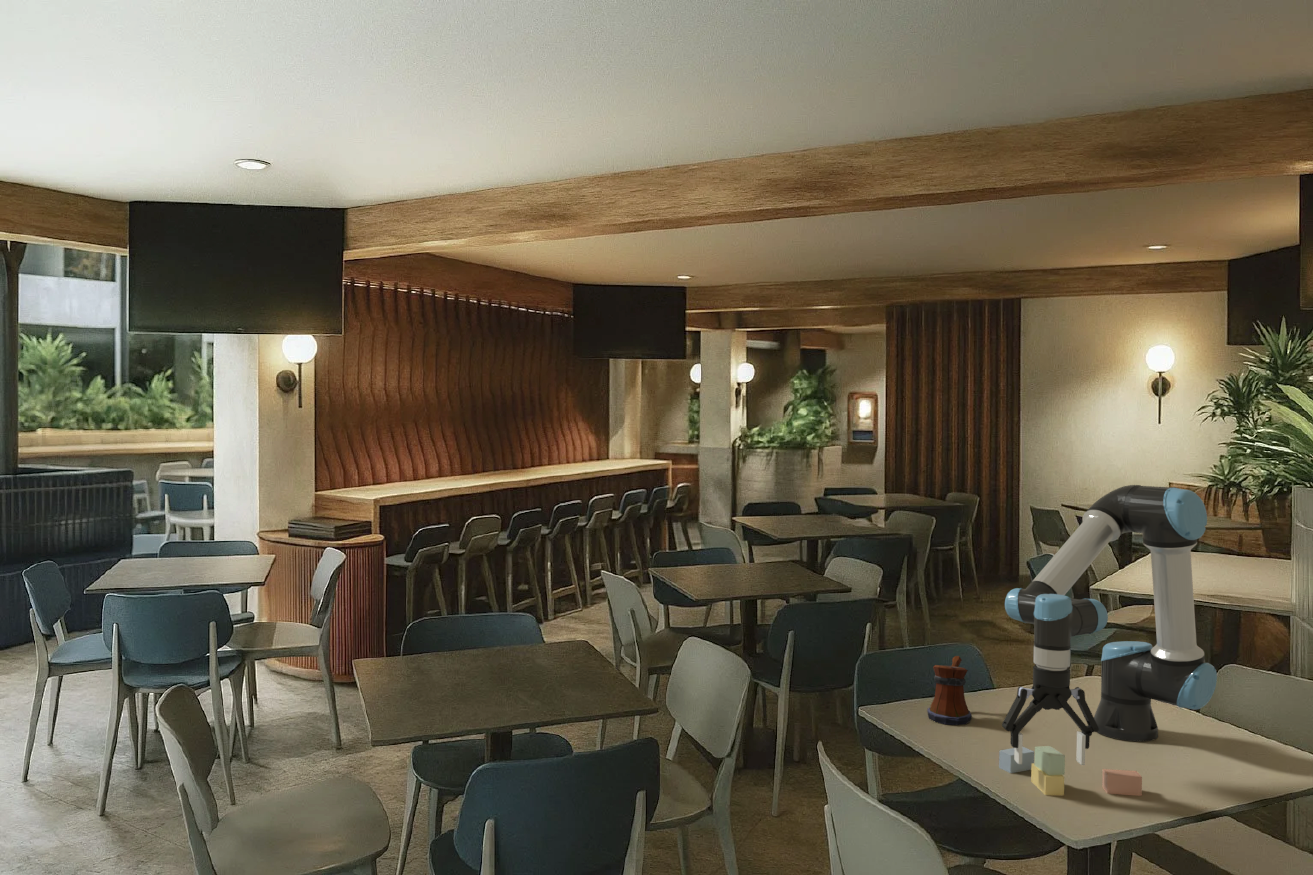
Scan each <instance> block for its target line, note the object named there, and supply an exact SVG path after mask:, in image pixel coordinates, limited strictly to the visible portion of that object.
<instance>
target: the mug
mask: <svg viewBox="0 0 1313 875" xmlns="http://www.w3.org/2000/svg"><path fill="white" fill-rule="evenodd" d="M951 660H952V664H951V665H940V664H939V665H938V664H935V665H934V666H933V667H932V668H933V671H934V674H935V675H934V677H933V679H934V681H935V684H936V685H935V689H934V690H935V693H934V697H933V700H932V702H931V704H930V707H928V708H927V710H926V712H927V717H928V719H929V720H930V719H931V720H930V721H932V720H933V722H934V721H935V723H937V722H938V724H942V725H944V726H946V725H947V726H962V725H963V726H965V725H967V724H969V723H970V722H971V721H972V718H973V716H972V712H971V711H970V710H969V708H968V704H967V703H966V698H965V691H964V690H965V689H964V686H965V685H966V682H967V681H966V678H965V676H966V674H967V673H968V670H967V669H966V668H965V667H961V666H960V665H961V663H962V661H963V659H962V658H961V656H960V655H955V656H954V657H952V659H951ZM959 666H960V667H959Z"/></svg>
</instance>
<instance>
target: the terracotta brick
mask: <svg viewBox="0 0 1313 875" xmlns="http://www.w3.org/2000/svg"><path fill="white" fill-rule="evenodd" d="M1101 786H1102V789H1103V790H1104V791H1105V793H1106V794H1109V795H1111V794H1112V795H1127V796H1128V795H1129V796H1143V794H1142V791H1143V790H1142V789H1143V776H1142V775H1141V774H1140V773H1139V772H1138V771H1137V770H1127V769H1125V770H1124V769H1112V768H1111V769H1109V768H1102V784H1101Z"/></svg>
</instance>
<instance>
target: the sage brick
mask: <svg viewBox="0 0 1313 875" xmlns="http://www.w3.org/2000/svg"><path fill="white" fill-rule="evenodd" d="M1065 762H1066V757H1065V754H1063V753H1062V752H1060V751H1059V750H1057V749H1056V748H1054V747H1052V746H1050V745H1045V746H1044V745H1043V746H1034V763H1035V764H1034V766H1036V767H1037V768H1039V769H1040V770H1042V771H1043V772H1045V773H1046V774H1047V775H1063V776H1065V766H1066V764H1065Z"/></svg>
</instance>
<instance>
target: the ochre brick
mask: <svg viewBox="0 0 1313 875" xmlns="http://www.w3.org/2000/svg"><path fill="white" fill-rule="evenodd" d="M1034 764H1035V762H1034V763H1032V766H1031V770H1030V772H1031V774H1030V776H1031V778H1030V782H1031V783H1032V784H1033V785H1034V786H1035V787H1036V788H1037V789H1038V790H1040V792H1041V793H1042V794H1043V795H1045V796H1065V775H1047V774H1046V773H1045V772H1043V771H1042V770H1040V769H1039V768H1037V767H1036V766H1034Z"/></svg>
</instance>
